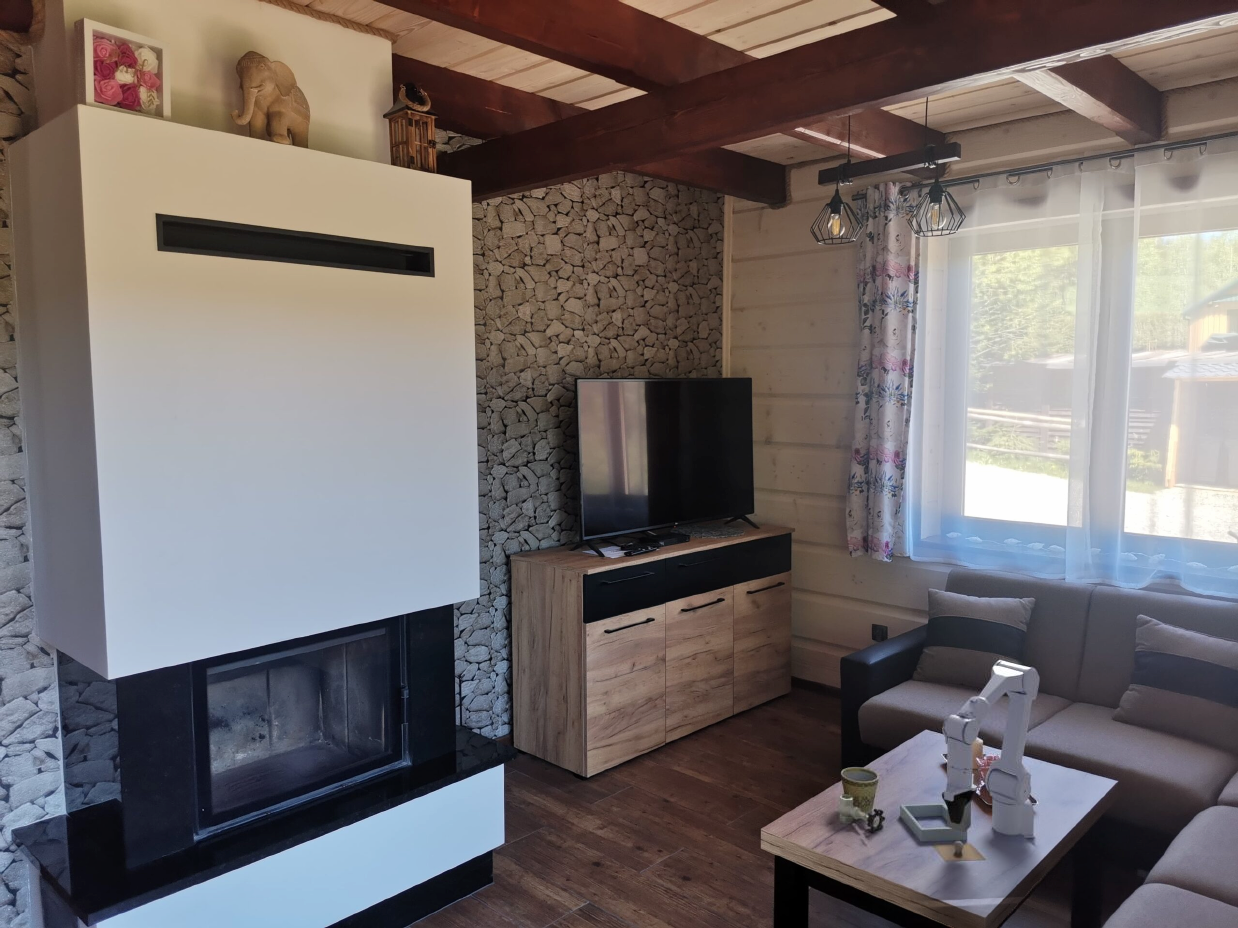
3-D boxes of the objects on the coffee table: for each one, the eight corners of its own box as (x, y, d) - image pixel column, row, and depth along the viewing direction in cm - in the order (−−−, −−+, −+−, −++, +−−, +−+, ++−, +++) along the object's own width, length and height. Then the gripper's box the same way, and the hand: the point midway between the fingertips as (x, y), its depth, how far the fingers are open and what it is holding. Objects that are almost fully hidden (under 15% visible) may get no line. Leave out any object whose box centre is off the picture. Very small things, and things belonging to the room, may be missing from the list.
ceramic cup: (870, 821, 233) (870, 785, 233) (834, 811, 239) (835, 775, 239) (887, 803, 244) (887, 768, 243) (853, 794, 250) (853, 760, 249)
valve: (832, 821, 234) (870, 838, 224) (832, 797, 233) (870, 813, 224) (847, 814, 238) (885, 830, 228) (847, 790, 237) (885, 805, 228)
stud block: (970, 846, 219) (970, 832, 219) (985, 863, 211) (986, 848, 211) (931, 848, 218) (932, 834, 218) (945, 865, 211) (945, 850, 210)
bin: (943, 817, 235) (943, 803, 235) (967, 843, 221) (967, 827, 221) (899, 819, 234) (900, 804, 234) (920, 844, 220) (921, 829, 220)
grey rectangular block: (953, 820, 217) (954, 795, 217) (970, 825, 215) (971, 800, 214) (947, 826, 214) (947, 801, 214) (964, 832, 211) (964, 806, 211)
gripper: (965, 778, 205) (964, 834, 206) (986, 760, 216) (986, 813, 217) (935, 771, 210) (935, 825, 211) (958, 752, 221) (957, 804, 222)
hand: (959, 818), depth 214 cm, fingers closed on grey rectangular block, 4 cm apart
